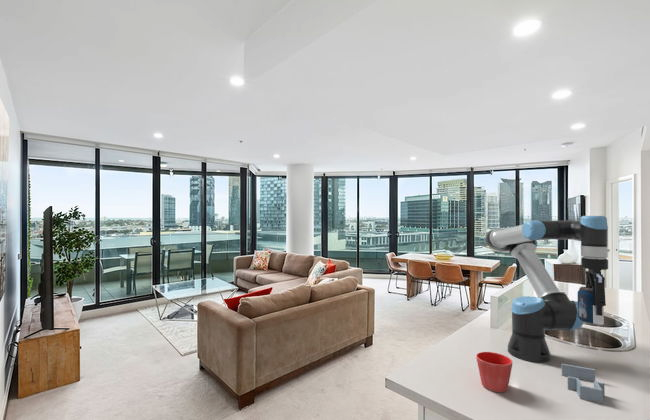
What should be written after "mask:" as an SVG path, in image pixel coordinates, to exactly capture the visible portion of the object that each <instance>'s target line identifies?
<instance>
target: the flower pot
mask: <svg viewBox="0 0 650 420" xmlns="http://www.w3.org/2000/svg"><path fill="white" fill-rule="evenodd" d="M475 356H476V362H477V368H478V372H479V377H480V382H481V385H482V387H483V388H484V389H487V390H489V391H491V392H495V393H505V392H507V391H508V388H509V384H510V380H511V374H512V368H513V360H512V358H510V357H508V356H506V355H505V354H501V353H497V352H493V351H482V352H481V351H480V352H478V353H477V354H476V355H475Z"/></svg>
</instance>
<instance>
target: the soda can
mask: <svg viewBox="0 0 650 420" xmlns="http://www.w3.org/2000/svg"><path fill="white" fill-rule="evenodd" d="M577 302H578V318H579V319H580V320H581V321H582V322H584V323H586V324H589V325H590V324H591V325H595V324H594V323H593V305H592V303H593V304H594V298H593V289H592V288H589V287H586V286H580V287H579V288H578V290H577Z"/></svg>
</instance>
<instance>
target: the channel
mask: <svg viewBox="0 0 650 420" xmlns="http://www.w3.org/2000/svg"><path fill="white" fill-rule="evenodd" d="M560 367H561V369H560V370H561V376H563V377H567V389H568V390H570V391H575V392H576V394H577V396H578V397H579V399H580V400H584V401H589V402H593V403H594V402H595V403H599V404H604V401H603V400H604V398H603V397H605V383H604V382H602V381H601V382H600V381H596V369H595V368H588V367H583V366H577V365H571V364H567V363H566V364H565V363H561V366H560ZM581 380H585V381H590V382H593V387H591V386H587V385H583V384H582V382H581Z"/></svg>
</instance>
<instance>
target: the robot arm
mask: <svg viewBox="0 0 650 420" xmlns="http://www.w3.org/2000/svg"><path fill="white" fill-rule="evenodd" d="M608 225H609V224H608V218H607V217H606V216H604V215H582V216H580V220H571V219H570V220H569V219H568V220H567V219H565V220H537V219H535V220H533V219H532V220H526V221H525V222H524V223H523V224H520V225H515V226H511V227H508V228H494V229H491V230H489V231H488V232H487V233H486V235H485V237H484V238H485V239H484V240H485V243H486V245H487V246H488V247H489V248H490V249H492V250H494V251H498V252H509V253H510V255H511V257H512V258H514V259H517V262H518V263H519V265H520V266H521V268H522V270H523V272H524V275H526V277H527V279H528V281H529V283H530V284H531V286H532V288H533V290H534V292H535V294H536V295H537V296H527V295H526V296H519V297H516V298H514V299H512V302H511V319H512V320H511V330H512V331H511V335H510V338H509V341H508V344H507V352H508V353H509V354H510V355H512V357H515V358H517V359H520V360H523V361H528V362H534V363H546V362H549V361H550V360H551V351H550V349H549V345H548V343H547V341H546V331H569V332H570V331H576V330H579V329H581V328H582V327H583V325H584V323H585V322H582V321H581V320H580V319H579V318H578V301H574V300H570V298H569V297H568V295H567V293H565V292H562V291H560V290H559V288H558V286H557V285H556V283H555V282H554V280H553V278H552V277H551V275H550V274H549V272H548V270H547V268H546V267H545V265H544V264H543V262H542V261H541V259H540V257H539V256H538V254H537V252H536V251H537V247H538V241H541V240H572V241H573V240H575V241H580V256H581V262H580V263H581V264H580V265H581V268H582V269H587V270H585V287H589V288H592V289H593V298H594V304H593V303H592V305H593V323H594V324H593V325H600V326H603V325H604V323H605V322H604V320H605V318H604V316H605V315H604V307H606V305H607V304H606V286H605V283H606V278H605V276H604V275H603V274H602V271H606V270H609V260H608V259H607V258H608V256H609V252H610V251H611V250H610V249H609V248H608V245H609V243H608V242H609V241H608V240H609V239H608V237H609V236H608V233H609V232H608V229H609V226H608Z"/></svg>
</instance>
